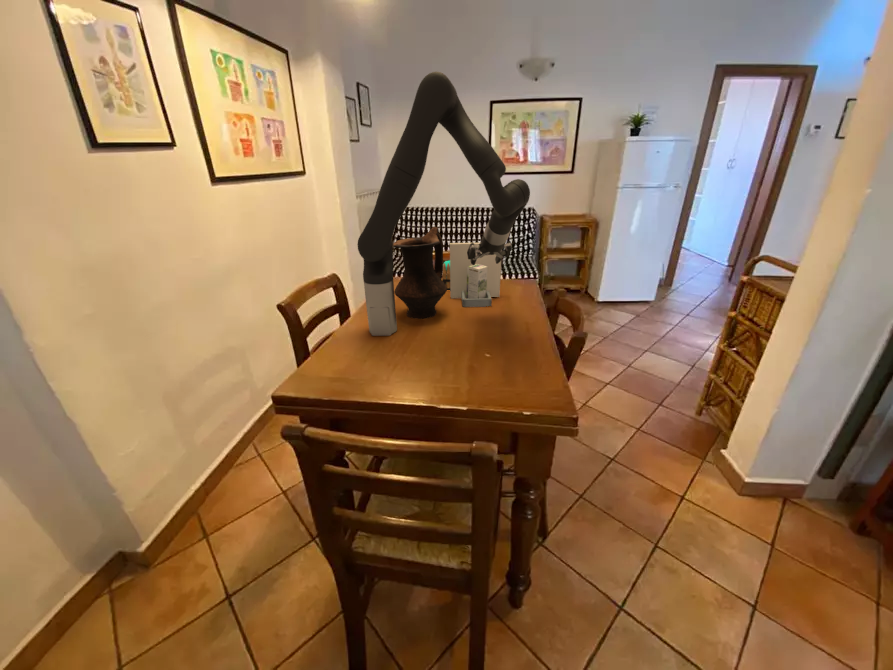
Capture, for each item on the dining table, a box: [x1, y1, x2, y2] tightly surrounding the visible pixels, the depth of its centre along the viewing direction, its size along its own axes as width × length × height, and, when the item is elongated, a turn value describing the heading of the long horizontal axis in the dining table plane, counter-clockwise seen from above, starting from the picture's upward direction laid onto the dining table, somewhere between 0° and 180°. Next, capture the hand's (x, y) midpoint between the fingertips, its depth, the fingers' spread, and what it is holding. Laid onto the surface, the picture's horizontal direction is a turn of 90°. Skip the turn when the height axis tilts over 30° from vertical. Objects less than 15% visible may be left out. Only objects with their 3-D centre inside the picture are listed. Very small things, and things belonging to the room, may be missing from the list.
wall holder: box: [449, 242, 502, 308], centre depth 143 cm, size 12×20×22 cm, turn 90°
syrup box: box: [465, 264, 488, 299], centre depth 144 cm, size 6×6×14 cm
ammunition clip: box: [442, 262, 450, 290], centre depth 159 cm, size 11×2×12 cm, turn 81°
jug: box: [392, 226, 448, 320], centre depth 130 cm, size 21×18×30 cm
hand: (484, 262), depth 130 cm, fingers open, 8 cm apart
